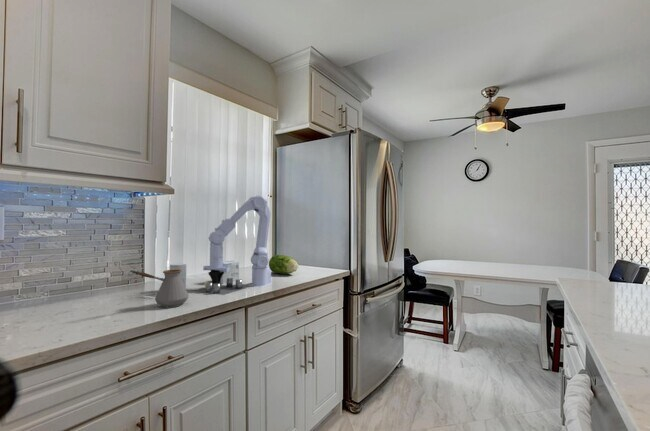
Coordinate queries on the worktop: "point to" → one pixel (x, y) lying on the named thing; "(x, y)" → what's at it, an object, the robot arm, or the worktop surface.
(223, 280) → the light bulb box
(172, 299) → the coffee pot
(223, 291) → the mat
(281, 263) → the lettuce
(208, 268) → the robot arm
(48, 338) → the worktop surface
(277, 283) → the worktop surface
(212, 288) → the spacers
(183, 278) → the skincare box
